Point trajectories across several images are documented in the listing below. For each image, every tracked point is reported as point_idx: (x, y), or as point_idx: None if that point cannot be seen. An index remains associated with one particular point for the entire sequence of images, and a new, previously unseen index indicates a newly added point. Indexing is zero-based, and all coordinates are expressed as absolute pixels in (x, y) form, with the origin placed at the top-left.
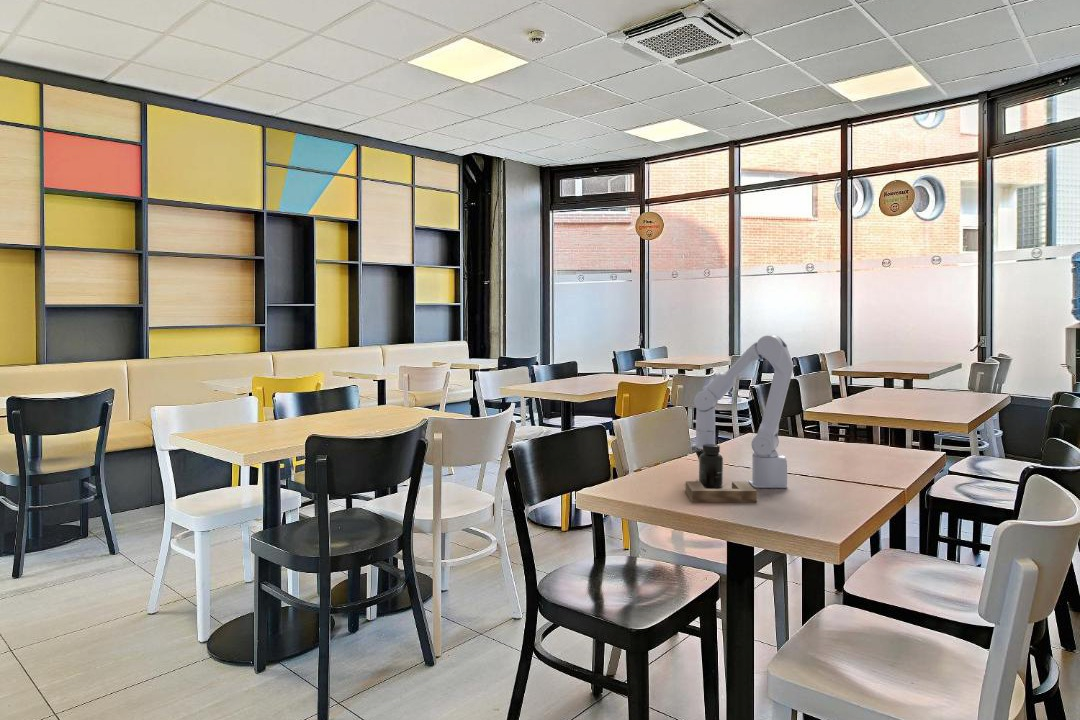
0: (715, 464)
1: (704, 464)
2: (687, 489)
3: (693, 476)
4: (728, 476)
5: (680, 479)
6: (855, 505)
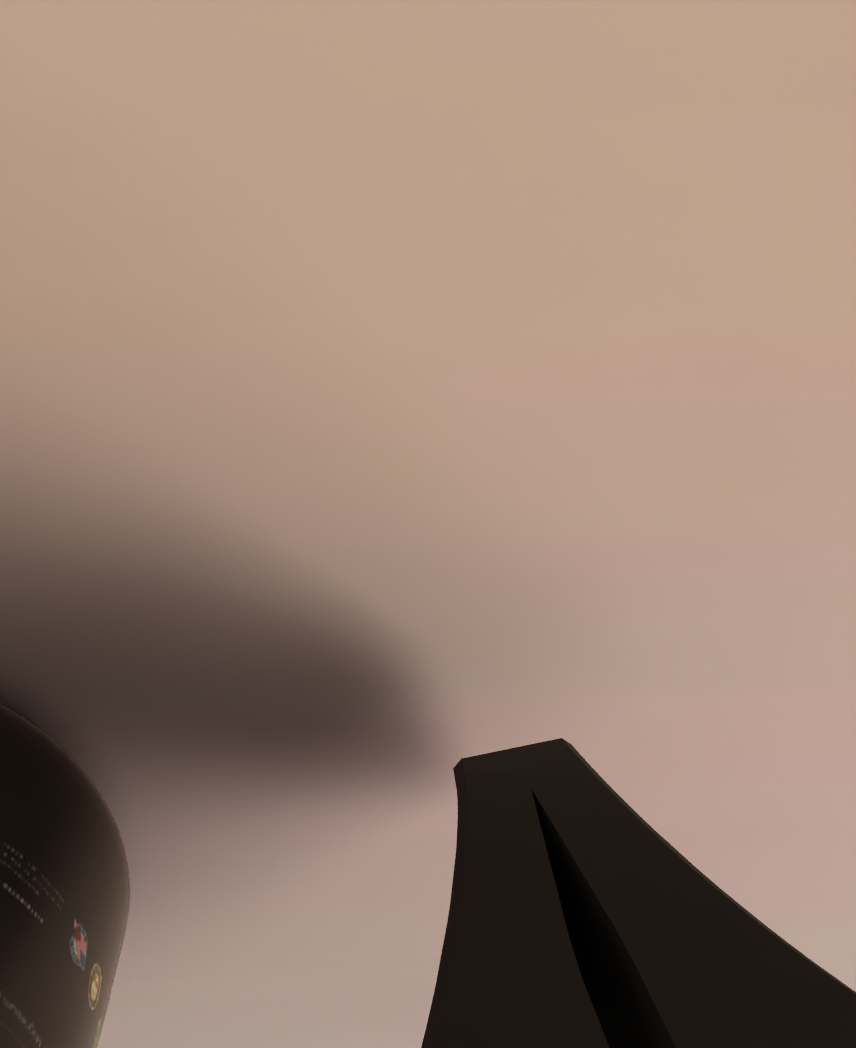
0: None
1: None
2: None
3: (832, 477)
4: None
5: (453, 131)
6: None
